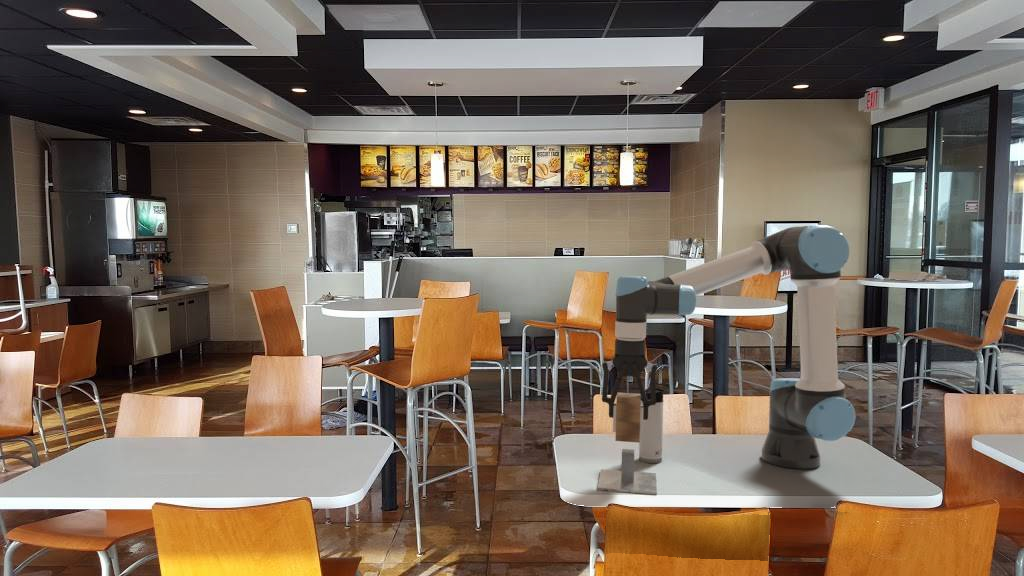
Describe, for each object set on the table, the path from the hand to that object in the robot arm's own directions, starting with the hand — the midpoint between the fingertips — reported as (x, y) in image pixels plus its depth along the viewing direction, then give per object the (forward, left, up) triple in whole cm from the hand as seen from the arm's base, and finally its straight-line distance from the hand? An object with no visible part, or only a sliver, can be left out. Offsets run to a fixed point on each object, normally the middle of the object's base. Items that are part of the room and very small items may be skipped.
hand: (627, 431), depth 166 cm
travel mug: (-6, -20, -13) cm, 25 cm away
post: (0, 0, -13) cm, 13 cm away
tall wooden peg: (0, 0, -2) cm, 2 cm away
